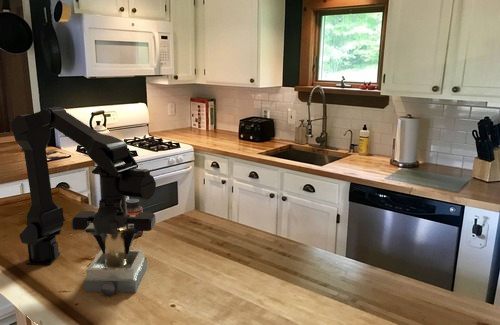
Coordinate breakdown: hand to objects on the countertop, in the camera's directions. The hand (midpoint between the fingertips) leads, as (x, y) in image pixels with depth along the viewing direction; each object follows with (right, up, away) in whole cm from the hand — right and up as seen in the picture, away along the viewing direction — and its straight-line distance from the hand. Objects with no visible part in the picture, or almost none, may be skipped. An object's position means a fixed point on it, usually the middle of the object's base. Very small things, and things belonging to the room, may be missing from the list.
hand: (116, 253), depth 101 cm
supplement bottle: (-4, -1, +29) cm, 29 cm away
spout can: (0, -2, +1) cm, 3 cm away
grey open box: (0, -7, +2) cm, 7 cm away
